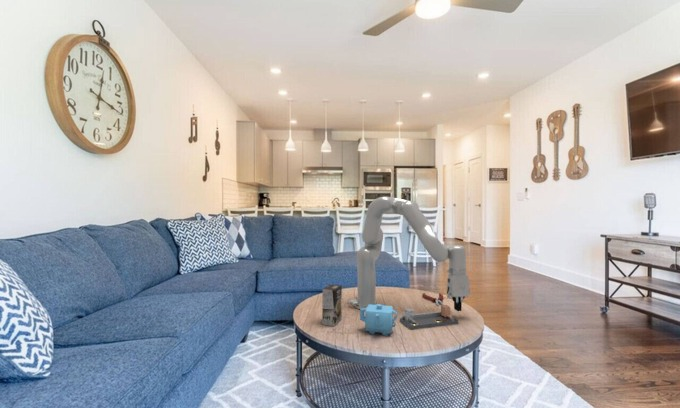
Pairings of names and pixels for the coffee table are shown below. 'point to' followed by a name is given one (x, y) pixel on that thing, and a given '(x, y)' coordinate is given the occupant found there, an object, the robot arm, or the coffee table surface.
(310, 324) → the coffee table surface
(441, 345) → the coffee table surface
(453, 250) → the robot arm
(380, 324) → the teapot
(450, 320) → the plate
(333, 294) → the coffee box
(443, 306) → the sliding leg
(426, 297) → the pliers
